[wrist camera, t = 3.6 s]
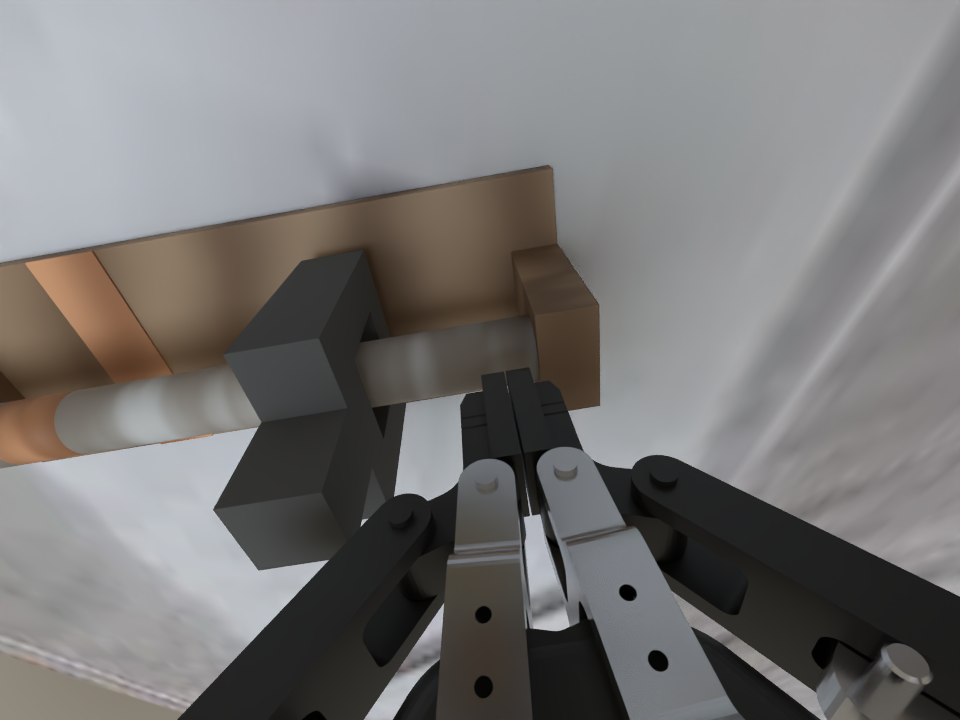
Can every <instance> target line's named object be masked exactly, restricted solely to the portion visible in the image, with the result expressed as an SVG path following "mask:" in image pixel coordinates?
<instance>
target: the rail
mask: <svg viewBox="0 0 960 720" xmlns="http://www.w3.org/2000/svg"><path fill="white" fill-rule="evenodd" d="M360 250H364V252H365V255H366V258H367V262H368V265H369V268H370V271H371V275H372V278H373V281H374V284H375V288H376V291H377V294H378V297H379V301H380V304H381V307H382V310H383V314H384V317H385V320H386V323H387V327H388V330H389V333H390V336H391V338H385V339H379V340H373V341H367V342H361V343H359V346H358V349H357V351H356V354H355V357H354V361H355V364H356V367H357V370H358V372H359V375H360V378H361V380H362V383H363V386H364V388H365V391H366V394H367V396H368V399H369V402H370V404H371V407H372V408H373V407H379V406H385V405H391V404H397V403H403V402H406V403H408V402H414V401H420V400H426V399H433V398H439V397H445V396H451V395H457V394H463V393H469V392H475V391H481V390H483V388H482V380H481V375H484V374H490V373H496V372H503V371H504V374H505V379H506V383H507V377H506V371H508V370H514V369H520V368H526V367H529V368H530V371H531V374H532V378H533V381H534V382H535V383H536V382H542V381H548V380H549V381H550V382H552V383H553V384H554V385H555V386H556V387H557V388H559V389H560V392H561V394H562V397H563V399H564V403H565V405H566V407H567V410H568V411H570V410H576V409H582V408H589V407H595V406H600V334H599V304H598V302H597V301H596V299H595V298H594V296H593V295H592V294H591V292H590V291H589V289H588V288H587V286H586V285H585V283H584V282H583V281H582V279H581V278H580V276H579V275H578V273H577V272H576V270H575V269H574V267H573V266H572V265H571V263H570V262H569V260H568V259H567V257H566V256H565V254H564V253H563V251H562V250H561V249H560V247H559V246H558V244H557V233H556V217H555V200H554V184H553V168H551V167H550V166H549V165H547V166H542V167H536V168H530V169H525V170H519V171H514V172H508V173H502V174H497V175H491V176H486V177H480V178H474V179H469V180H463V181H458V182H452V183H446V184H441V185H435V186H430V187H424V188H418V189H413V190H407V191H402V192H396V193H390V194H385V195H379V196H374V197H368V198H362V199H357V200H351V201H346V202H340V203H334V204H329V205H323V206H318V207H312V208H306V209H301V210H295V211H290V212H284V213H278V214H273V215H267V216H262V217H256V218H250V219H245V220H239V221H234V222H228V223H222V224H217V225H211V226H206V227H200V228H194V229H189V230H183V231H178V232H172V233H166V234H161V235H155V236H150V237H144V238H138V239H133V240H127V241H122V242H116V243H110V244H105V245H99V246H94V247H88V248H82V249H77V250H71V251H66V252H60V253H54V254H49V255H43V256H38V257H32V258H26V259H21V260H15V261H9V262H4V263H0V468H6V467H12V466H18V465H24V464H30V463H36V462H47V461H53V460H59V459H65V458H72V457H78V456H84V455H90V454H96V453H102V452H108V451H114V450H120V449H127V448H133V447H139V446H145V445H151V444H157V443H161V444H164V443H170V442H176V441H183V440H189V439H195V438H201V437H207V436H213V434H218V433H224V432H231V431H237V430H243V429H249V428H255V427H259V426H260V424H261V421H260V419H259V417H258V416H257V414H256V412H255V410H254V408H253V407H252V405H251V403H250V401H249V400H248V398H247V396H246V394H245V392H244V391H243V389H242V387H241V385H240V384H239V382H238V380H237V378H236V377H235V375H234V373H233V371H232V369H231V368H230V366H229V364H228V362H227V361H226V359H225V357H224V355H223V354H224V353H225V352H226V350H227V349H228V348H229V347H230V346H231V344H232V343H233V342H234V341H235V340H236V338H237V337H238V336H239V335H240V334H241V332H242V331H243V330H244V329H245V328H246V326H247V325H248V324H249V323H250V322H251V320H252V319H253V318H254V317H255V316H256V314H257V313H258V312H259V311H260V310H261V308H262V307H263V306H264V305H265V304H266V302H267V301H268V300H269V299H270V298H271V296H272V295H273V294H274V293H275V292H276V290H277V289H278V288H279V287H280V286H281V284H282V283H283V282H284V281H285V280H286V278H287V277H288V276H289V275H290V274H291V272H292V271H293V270H294V269H295V268H296V266H297V265H298V264H299V263H300V262H301V261H303V260H308V259H314V258H320V257H326V256H331V255H337V254H343V253H348V252H354V251H360ZM507 386H508V384H507Z"/></svg>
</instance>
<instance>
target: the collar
mask: <svg viewBox="0 0 960 720" xmlns="http://www.w3.org/2000/svg"><path fill="white" fill-rule="evenodd" d="M385 338H391V336H390V333H389V330H388V327H387V323H386V320H385V317H384V314H383V310H382V307H381V304H380V301H379V297H378V294H377V291H376V288H375V284H374V281H373V278H372V275H371V271H370V268H369V265H368V262H367V258H366V255H365V252H364V250H360V251H354V252H348V253H343V254H337V255H331V256H326V257H320V258H314V259H308V260H303V261H301V262H300V263H299V264H298V265H297V266H296V268H295V269H294V270H293V271H292V272H291V274H290V275H289V276H288V277H287V278H286V280H285V281H284V282H283V283H282V284H281V286H280V287H279V288H278V289H277V290H276V292H275V293H274V294H273V295H272V296H271V298H270V299H269V300H268V301H267V302H266V304H265V305H264V306H263V307H262V308H261V310H260V311H259V312H258V313H257V314H256V316H255V317H254V318H253V319H252V320H251V322H250V323H249V324H248V325H247V326H246V328H245V329H244V330H243V331H242V332H241V334H240V335H239V336H238V337H237V338H236V340H235V341H234V342H233V343H232V344H231V346H230V347H229V348H228V349H227V350H226V352H225V353H224V354H223V355H224V357H225V359H226V361H227V362H228V364H229V366H230V368H231V369H232V371H233V373H234V375H235V377H236V378H237V380H238V382H239V384H240V385H241V387H242V389H243V391H244V392H245V394H246V396H247V398H248V400H249V401H250V403H251V405H252V407H253V408H254V410H255V412H256V414H257V416H258V417H259V419H260V421H261V424H260V426H259V428H258V429H257V431H256V433H255V435H254V437H253V438H252V440H251V442H250V444H249V446H248V447H247V449H246V451H245V453H244V455H243V456H242V458H241V460H240V462H239V464H238V466H237V467H236V469H235V471H234V473H233V475H232V476H231V478H230V480H229V482H228V484H227V485H226V487H225V489H224V491H223V493H222V494H221V496H220V498H219V500H218V502H217V504H216V505H215V507H214V509H213V510H214V512H215V513H216V514H217V516H218V517H219V518H220V520H221V521H222V522H223V524H224V525H225V526H226V528H227V529H228V530H229V532H230V533H231V534H232V536H233V537H234V538H235V540H236V541H237V542H238V544H239V545H240V546H241V548H242V549H243V550H244V552H245V553H246V554H247V556H248V557H249V558H250V560H251V561H252V562H253V564H254V565H255V566H256V568H257V569H258V570H265V569H272V568H278V567H285V566H291V565H298V564H304V563H311V562H318V561H324V560H330V559H331V558H332V557H333V556H334V555H335V554H336V553H337V551H338V550H339V549H340V548H341V547H342V546H343V545H344V544H345V543H346V542H347V541H348V540H349V539H350V538H351V537H352V536H353V535H354V534H355V533H356V532H357V530H358V529H359V528H360V526H361V521H362V519H368V518H370V517H371V516H372V515H373V514H374V513H375V512H376V510H377V509H378V508H379V507H380V506H381V505H382V504H384V503H385V502H386V501H388V500H389V499H391V498H393V497H394V492H395V485H396V477H397V469H398V462H399V454H400V446H401V439H402V431H403V423H404V416H405V408H406V402H403V403H397V404H391V405H385V406H379V407H373V408H372V407H371V404H370V402H369V399H368V396H367V394H366V391H365V388H364V386H363V383H362V380H361V378H360V375H359V372H358V370H357V367H356V364H355V361H354V357H355V354H356V351H357V349H358V346H359V343H361V342H367V341H373V340H379V339H385Z"/></svg>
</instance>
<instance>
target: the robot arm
mask: <svg viewBox="0 0 960 720" xmlns="http://www.w3.org/2000/svg"><path fill="white" fill-rule="evenodd" d="M506 377H507V383H506V379H505V374H504V371H503V372H496V373H490V374H484V375H481V380H482V388H483V391H481V392H475V393H469V394H466V396H465V398H464V400H463V401H462V403H461V405H460V410H461V428H462V449H463V472H462V473H461V475H460V478H459V481H458V483H457V484H456V485H455V486H454V487H453V488H452V489H451V490H449V491H448V492H446V493H444V494H443V495H440V496H438V497H436V498H434V499H432V500H429V501H427V500H426V499H425V498H423V497H422V496H419V495H417V494H401V495H398V496H395V497H393V498H391V499H389V500H388V501H386V502H385V503H384V504H382V505H381V506H380V507H379V508H378V509H377V510H376V512H375V513H374V514H373V515H372V516H371V517H370V518H369V519H368V520H367V521H366V522H365V523H364V524H363V525H362V526H361V527H360V528H359V529H358V530H357V532H356V533H355V534H354V535H353V536H352V537H351V538H350V539H349V540H348V541H347V542H346V543H345V544H344V545H343V546H342V547H341V548H340V549H339V550H338V551H337V553H336V554H335V555H334V556H333V557H332V558H331V559H330V560H329V561H328V562H327V563H326V564H325V565H324V566H323V567H322V568H321V569H320V570H319V571H318V572H317V574H316V575H315V576H314V577H313V578H312V579H311V580H310V581H309V582H308V583H307V584H306V585H305V586H304V587H303V588H302V589H301V590H300V591H299V592H298V593H297V595H296V596H295V597H294V598H293V599H292V600H291V601H290V602H289V603H288V604H287V605H286V606H285V607H284V608H283V609H282V610H281V611H280V612H279V613H278V614H277V616H276V617H275V618H274V619H273V620H272V621H271V622H270V623H269V624H268V625H267V626H266V627H265V628H264V629H263V630H262V631H261V632H260V633H259V634H258V635H257V637H256V638H255V639H254V640H253V641H252V642H251V643H250V644H249V645H248V646H247V647H246V648H245V649H244V650H243V651H242V652H241V653H240V654H239V655H238V656H237V658H236V659H235V660H234V661H233V662H232V663H231V664H230V665H229V666H228V667H227V668H226V669H225V670H224V671H223V672H222V673H221V674H220V675H219V676H218V677H217V679H216V680H215V681H214V682H213V683H212V684H211V685H210V686H209V687H208V688H207V689H206V690H205V691H204V692H203V693H202V694H201V695H200V696H199V697H198V698H197V700H196V701H195V702H194V703H193V704H192V705H191V706H190V707H189V708H188V709H187V710H186V711H185V712H184V713H183V714H182V715H181V716H180V717H179V718H178V720H364V718H365V717H366V715H367V714H368V712H369V711H370V709H371V708H372V707H373V705H374V704H375V702H376V701H377V699H378V698H379V696H380V695H381V693H382V692H383V691H384V689H385V688H386V686H387V685H388V683H389V682H390V680H391V679H392V677H393V676H394V675H395V673H396V672H397V670H398V669H399V667H400V666H401V664H402V663H403V661H404V660H405V659H406V657H407V656H408V654H409V653H410V651H411V650H412V648H413V647H414V646H415V644H416V643H417V641H418V640H419V638H420V637H421V635H422V634H423V632H424V631H425V630H426V628H427V627H428V625H429V624H430V622H431V621H432V619H433V618H434V616H435V615H436V614H437V612H438V611H439V609H440V608H441V606H442V605H443V603H444V613H443V627H442V641H441V654H440V660H439V661H438V662H436V663H435V664H434V665H433V666H431V667H430V668H429V669H428V670H427V671H426V673H425V674H424V675H423V676H422V677H421V678H420V679H419V680H418V682H417V683H416V684H415V686H414V687H413V688H412V690H411V691H410V693H409V694H408V696H407V697H406V699H405V701H404V702H403V704H402V706H401V707H400V709H399V711H398V712H397V714H396V715H395V717H394V719H393V720H820V719H819V718H818V717H816V716H815V715H814V714H812V713H811V712H810V711H808V710H807V709H806V708H805V707H803V706H802V705H801V704H799V703H798V702H797V701H796V700H794V699H793V698H792V697H790V696H789V695H788V694H786V693H785V692H784V691H783V690H781V689H780V688H779V687H777V686H776V685H775V684H773V683H772V682H771V681H770V680H768V679H767V678H766V677H764V676H763V675H762V674H761V673H759V672H758V671H757V670H755V669H754V668H753V667H751V666H750V665H749V664H748V663H746V662H745V661H744V660H742V659H741V658H740V657H738V656H737V655H736V654H735V653H733V652H732V651H731V650H729V649H728V648H727V647H725V646H724V645H723V644H721V643H720V642H718V641H717V640H715V639H713V638H712V637H710V636H709V635H707V634H705V633H703V632H701V631H699V630H697V629H695V628H693V627H690V625H689V623H688V621H687V619H686V617H685V615H684V614H683V612H682V610H681V608H680V606H679V604H678V602H677V600H676V599H675V597H674V595H673V593H672V591H673V592H674V593H676V594H677V595H678V596H680V597H681V598H683V599H684V600H686V601H687V602H688V603H690V604H691V605H693V606H694V607H695V608H697V609H698V610H700V611H701V612H703V613H704V614H705V615H707V616H708V617H710V618H711V619H713V620H714V621H715V622H717V623H718V624H720V625H721V626H722V627H724V628H725V629H727V630H728V631H730V632H731V633H732V634H734V635H735V636H737V637H738V638H740V639H741V640H742V641H744V642H745V643H747V644H748V645H749V646H751V647H752V648H754V649H755V650H757V651H758V652H759V653H761V654H762V655H764V656H765V657H767V658H768V659H769V660H771V661H772V662H774V663H775V664H776V665H778V666H779V667H781V668H782V669H784V670H785V671H786V672H788V673H789V674H791V675H792V676H793V677H795V678H796V679H798V680H799V681H801V682H802V683H803V684H805V685H806V686H808V687H809V688H811V689H812V690H813V691H815V692H816V693H817V698H818V701H819V705H820V707H821V709H822V711H823V713H824V715H825V717H826V718H827V720H960V597H959V596H957V595H955V594H953V593H951V592H949V591H947V590H945V589H943V588H941V587H939V586H937V585H935V584H933V583H931V582H929V581H927V580H924V579H922V578H920V577H918V576H916V575H914V574H912V573H910V572H908V571H906V570H904V569H902V568H900V567H898V566H896V565H894V564H892V563H890V562H887V561H885V560H883V559H881V558H879V557H877V556H875V555H873V554H871V553H869V552H867V551H865V550H863V549H861V548H859V547H857V546H855V545H853V544H850V543H848V542H846V541H844V540H842V539H840V538H838V537H836V536H834V535H832V534H830V533H828V532H826V531H824V530H822V529H820V528H818V527H816V526H813V525H811V524H809V523H807V522H805V521H803V520H801V519H799V518H797V517H795V516H793V515H791V514H789V513H787V512H785V511H783V510H781V509H779V508H776V507H774V506H772V505H770V504H768V503H766V502H764V501H762V500H760V499H758V498H756V497H754V496H752V495H750V494H748V493H746V492H744V491H742V490H739V489H737V488H735V487H733V486H731V485H729V484H727V483H725V482H723V481H721V480H719V479H717V478H715V477H713V476H711V475H709V474H707V473H705V472H702V471H700V470H698V469H696V468H694V467H692V466H690V465H688V464H686V463H684V462H682V461H680V460H678V459H675V458H672V457H669V456H664V455H652V456H647V457H644V458H642V459H640V460H639V461H638V462H636V463H635V465H634V466H633V468H632V469H625V468H615V467H609V466H605V465H602V464H599V463H597V462H595V461H594V460H592V459H591V457H590V456H589V455H588V454H586V453H585V452H584V451H583V449H582V446H581V444H580V441H579V439H578V436H577V433H576V431H575V428H574V426H573V423H572V420H571V418H570V415H569V413H568V410H567V407H566V405H565V403H564V399H563V397H562V394H561V392H560V389H559V388H557V387H556V386H555V385H554V384H553V383H552V382H550V381H549V380H548V381H542V382H536V383H534V381H533V378H532V374H531V371H530V368H529V367H526V368H520V369H514V370H508V371H506ZM507 384H508V388H507ZM508 391H509V393H508ZM525 483H526V485H525ZM526 488H527V492H526ZM527 493H528V497H529V502H530V507H531V512H532V515H538V514H540V515H541V519H542V524H543V529H544V538H545V543H546V546H547V550H548V553H549V556H550V559H551V562H552V566H553V569H554V572H555V575H556V579H557V582H558V585H559V588H560V591H561V595H562V598H563V601H564V604H565V608H566V611H567V615H568V619H569V624H570V627H568V628H566V629H564V630H561V631H547V630H539V629H533V622H532V613H531V602H530V591H529V580H528V570H527V559H526V548H525V539H526V530H525V523H524V517H527V516H530V514H529V507H528V499H527Z"/></svg>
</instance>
